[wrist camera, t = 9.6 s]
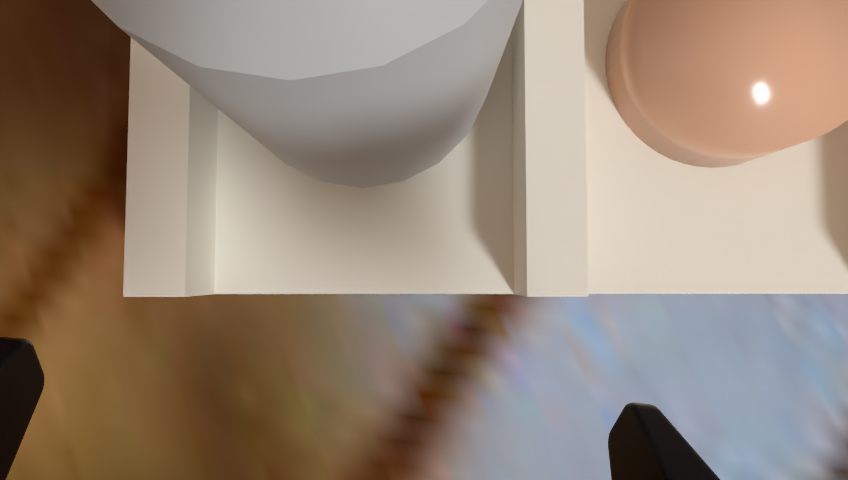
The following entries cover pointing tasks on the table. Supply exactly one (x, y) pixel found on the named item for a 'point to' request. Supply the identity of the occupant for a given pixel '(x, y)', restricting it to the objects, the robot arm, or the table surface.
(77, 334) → the table surface
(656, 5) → the terracotta dish
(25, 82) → the table surface
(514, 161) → the divider tray
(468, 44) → the can
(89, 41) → the table surface
